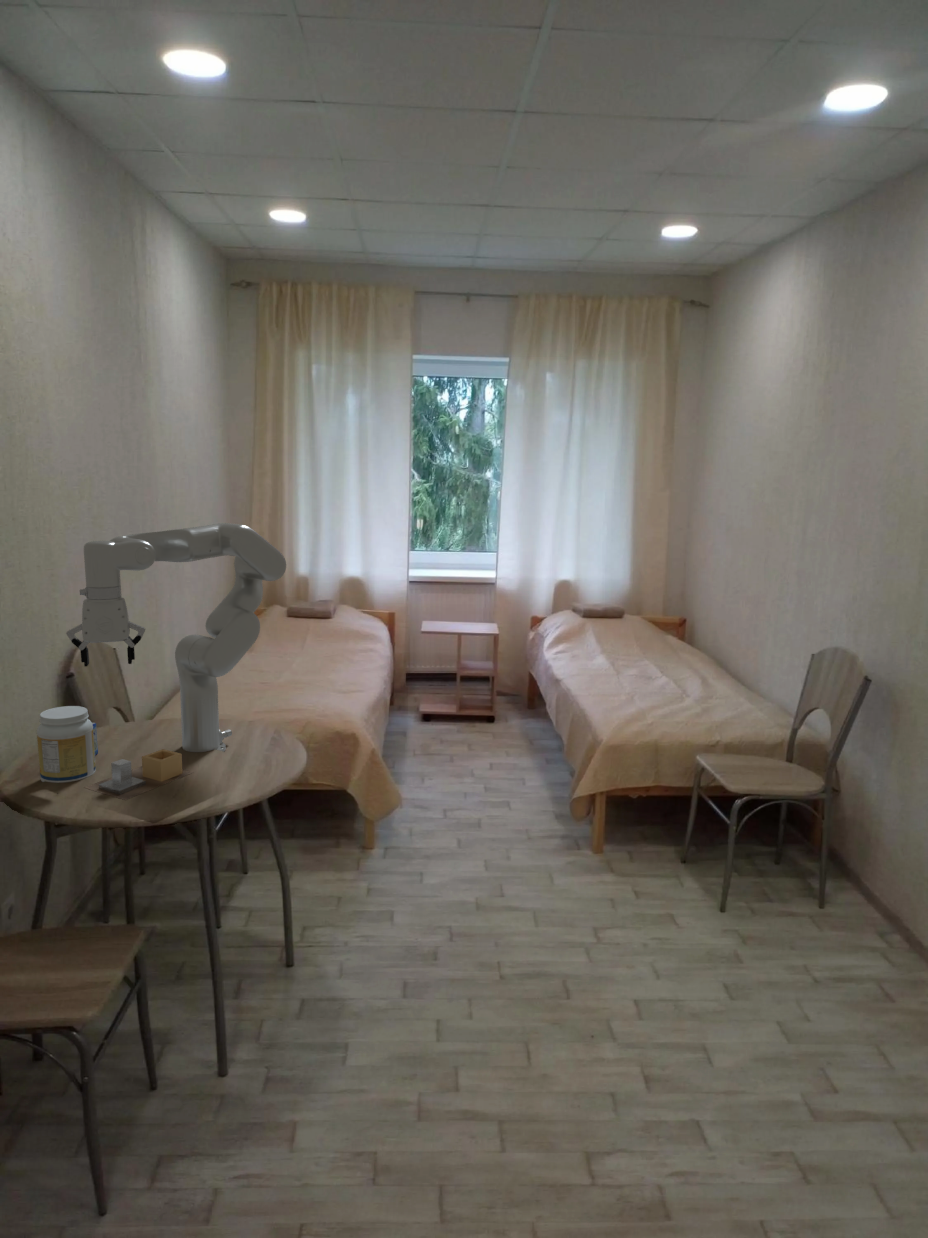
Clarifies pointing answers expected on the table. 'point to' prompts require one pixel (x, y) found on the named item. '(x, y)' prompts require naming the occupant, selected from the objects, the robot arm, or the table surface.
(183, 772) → the board
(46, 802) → the table surface
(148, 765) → the collar
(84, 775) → the supplement tub
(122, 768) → the grey stepped block
